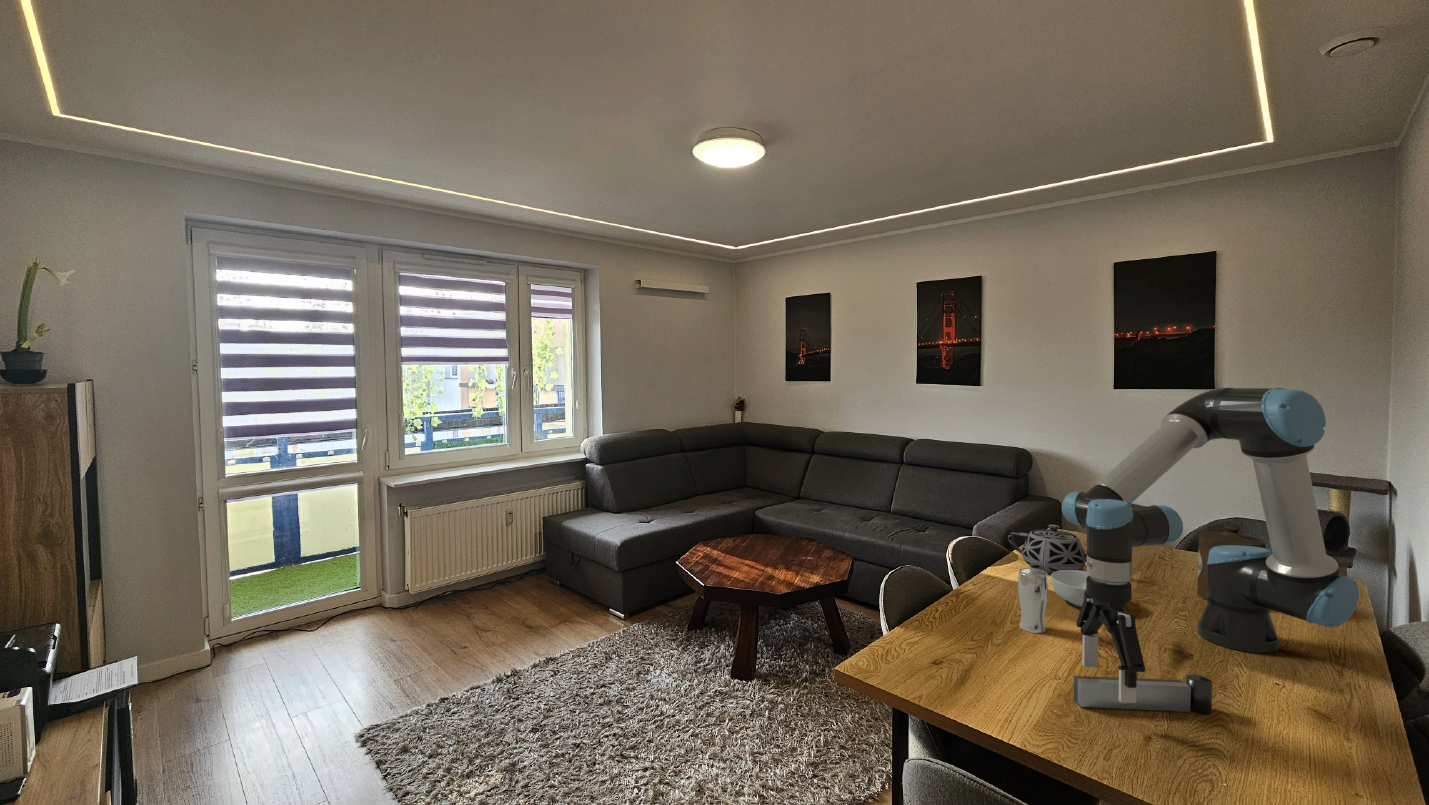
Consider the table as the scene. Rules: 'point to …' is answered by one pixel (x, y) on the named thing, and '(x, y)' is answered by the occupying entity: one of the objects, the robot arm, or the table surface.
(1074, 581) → the cereal bowl
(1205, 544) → the brown lidded jar
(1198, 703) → the blade
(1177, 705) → the bar
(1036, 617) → the beer glass
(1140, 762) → the table surface
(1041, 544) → the teapot
